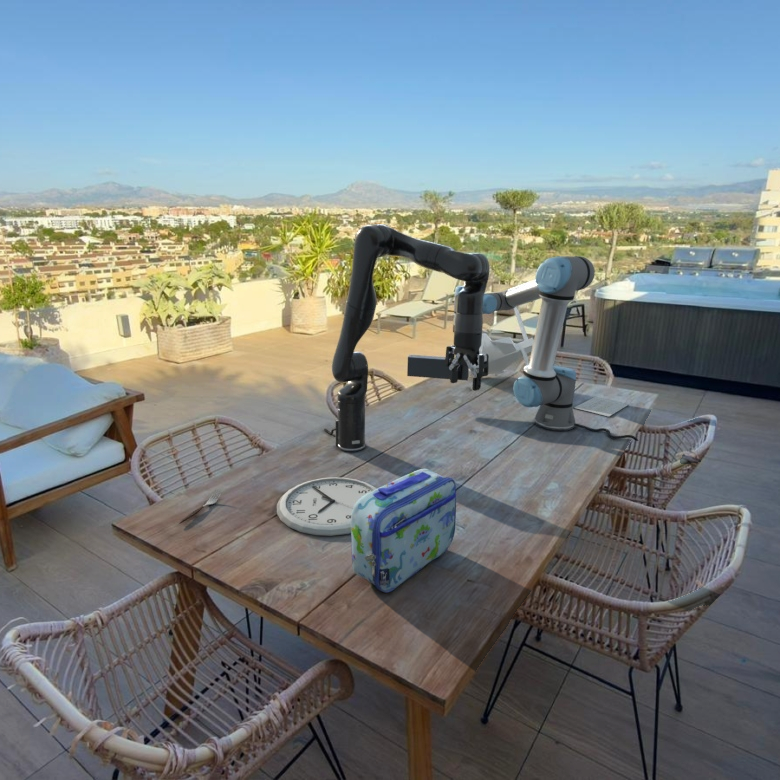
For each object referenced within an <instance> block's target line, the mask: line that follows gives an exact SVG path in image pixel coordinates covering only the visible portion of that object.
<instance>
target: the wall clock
mask: <svg viewBox="0 0 780 780" xmlns="http://www.w3.org/2000/svg"><path fill="white" fill-rule="evenodd" d="M376 489H378V487H376V486H374V485H372V484H371V483H369V482H365V481H362V480H359V479H355V478H349V477H338V476H337V477H335V476H333V477H332V476H331V477H322V478H317V479H312V480H307V481H305V482H302V483H299V484H297V485H295V486H293V487H292V488H290V489H288V490H287V491H286V492H285V493H284V494H283V495H281V496H280V498H279V499H278V502H277V503H276V515H277V517H278V518H279V520H280V521H281V522H282V523H283V524H285V525H286V526H287V527H288V528H290V529H293V530H295V531H297V532H299V533H303V534H308V535H312V536H327V537H328V536H329V537H331V536H332V537H333V536H342V535H350V534H351V514H352V510H353V507H354V505H355V504H356V502H357V501H358V500H359V499H360V498H361V497H362V496H364V495H365V494H367V493H370V492H372V491H374V490H376Z"/></svg>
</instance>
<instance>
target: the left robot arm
mask: <svg viewBox="0 0 780 780" xmlns="http://www.w3.org/2000/svg"><path fill="white" fill-rule="evenodd" d="M353 243H354V244H353V255H352V266H351V274H350V280H349V286H348V293H347V297H346V302H345V307H344V313H343V318H342V324H341V329H340V333H339V338H338V340H337V341H338V342H337V344H336V348H335V350H334V353H333V358H332V362H331V373H332V376H333V378H334V380H335V381H336V382H338V383H346V384H345V385H344V386H343V387H342V388H340V389H339V390H338V392H337V419H336V420H335V427H334V428H332V429H331V431H330V430H328V429H327V428H323V431H324V432H326V433H327V434H329V435H333V434H334V432H335V447H337V448H338V449H339V450H341V451H344V452H350V453H351V452H359V451H362V450H364V449H365V448H366V395H367V392H368V382H369V381H368V380H369V363H368V359H367V357H366V355H365V354H364V353H363V352H361V351H355V349H356V348H357V345H358V343H359V342H360V341H361V339H362V338H363V336H365V334H366V333H367V331H368V330H369V328H370V327H371V325H372V323H373V321H374V318H375V312H376V308H377V301H378V298H377V293H376V289H375V285H374V280H373V279H374V272H375V266H376V263H377V259H379V258H384V257H386V256H389V257H400V258H403V259H407V260H409V261H411V262H413V263H414V264H415V265H417V266H420V267H422V268H424V269H427V270H431V271H434V272H438V273H442V274H444V275H447V276H448V277H451V278H453V279H455V280H458V281H462V282H463V285H462V286H463V289H462V290H461V291H460V292H459V293H458V296H457V307H456V317H455V327H454V332H453V345H448V346H446V348H445V356H444V357H445V366H446V367H449V369H450V379H449V381H450V384H457V383H458V381H459V380H458V370H457V369H458V367H459V366H460V365H464V366H466V367H469V370H470V371H472V373H473V376H472V385H471V387H472V388H471V390H472V391H475V392H476V391H479V390H480V389H481V387H482V386H481V385H482V378H484V377H488V375H489V374H488V362H489V356H488V354H480V353H479V348H480V347H481V341H482V333H483V326H484V325H483V324H484V320H483V319H484V318H483V314H482V313H483V297H484V293H486V289H487V285H488V282H489V278H490V271H491V269H490V268H491V267H490V261H489V259H488V258H487V256H486V255H485V254H483V253H481V252H471V253H467V252H461V251H458V250H455V249H454V248H453V247H450V246H447V245H443V244H440V243H435V242H432V241H427V240H423V239H419V238H416V237H413V236H410V235H407V234H405V233H402V232H400V231H399V230H396V229H395V228H392V227H390V226H388V225H385V224H381V223H380V224H377V223H376V224H369V225H365V226H362V227H360V228H359V230H358V231H357V233H356V235H355V239H354V242H353ZM449 359H450V362H449ZM478 359H479V360H478ZM474 364H475V365H476V366H473V365H474ZM483 369H484V372H483ZM476 370H477V371H476ZM477 372H478V373H477Z"/></svg>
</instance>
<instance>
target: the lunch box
mask: <svg viewBox="0 0 780 780" xmlns="http://www.w3.org/2000/svg"><path fill="white" fill-rule="evenodd" d="M456 517H457V485H456V481H455V479H453V478H452V477H449V476H447V477H445V476H442V475H440V474H439V473H437V472H434V471H433V470H431V469H428V468H420V469H417V470H414V471H413V472H410V473H408V474H405V475H403V476H401V477H399V478H397V479H394V480H393V481H390V482H388V483H387V484H383V485H382V486H380V487H377V489H376V490H374V491H372V492H370V493H367V494H365V495H364V496H362V497H361V498H360V499H359V500H358V501H357V502H356V504H355V505H354V507H353V510H352V514H351V533H350V538H351V539H350V540H351V564H352V570H353V572H354V574H355V575H356V576H358V577H359V578H362V579H364V580H366V581H368V582H369V583H370V584H372V585H374V586H375V587H376V589H377V590H379V591H381V592H383V593H391V592H392V591H394V590H395V589H397V588H398V587H400V586H401V584H403V583H404V582H406V581H407V580H408V579H410V578H411V577H412V576H414V575H415V574H417V573H418V572H419V571H421V570H423V568H425V566H426V565H428V564H429V563H431V562H432V561H434V560H435V559H437V558H440V556H442V555H443V554H445V553H446V552H447V550H448V549H449V548H450V546H451V545H452V542H453V540H454V537H455V532H456V522H457V521H456V519H457V518H456Z"/></svg>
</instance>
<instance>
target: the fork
mask: <svg viewBox="0 0 780 780" xmlns="http://www.w3.org/2000/svg"><path fill="white" fill-rule="evenodd" d="M222 493H223V491H221V490H219V489H217V490H216V489H215V490H214V492H213V493H212V495H211V496H210V498H209V499H208V500H207V501H206V502H205V504H203V505H202V506H200V507H198V508H196V509H194V510H192V512H191V513H189V514H188V515H187V516H186V517H185V518H183V519H182V520H181V521H180V522H179V523H178V525H180V524H182V523H184V522H186V521H187V520H189V519H191V518H192V517H194V516H195V515H197V514H198V513H199V512H201V511H202V510H203V509H204V508H205V507H206V506H210V505H215V504H216V503H217V502H218V500H219V498H220V497H221V495H222Z"/></svg>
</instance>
